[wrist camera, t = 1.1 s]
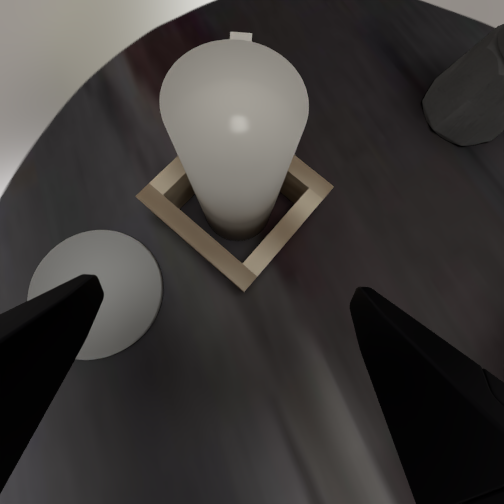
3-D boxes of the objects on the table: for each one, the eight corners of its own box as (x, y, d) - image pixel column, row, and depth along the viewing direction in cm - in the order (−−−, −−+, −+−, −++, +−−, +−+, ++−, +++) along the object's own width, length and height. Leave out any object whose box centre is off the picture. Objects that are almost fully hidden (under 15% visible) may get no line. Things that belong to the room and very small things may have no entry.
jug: (269, 242, 22) (309, 173, 9) (202, 239, 22) (151, 164, 9) (271, 154, 24) (307, -6, 11) (209, 150, 24) (173, -19, 11)
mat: (97, 385, 19) (91, 389, 18) (8, 298, 20) (-2, 298, 19) (188, 285, 21) (186, 284, 20) (103, 209, 22) (98, 206, 21)
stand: (243, 292, 21) (244, 291, 17) (153, 213, 22) (135, 196, 18) (318, 204, 23) (333, 186, 19) (232, 135, 24) (231, 105, 20)
